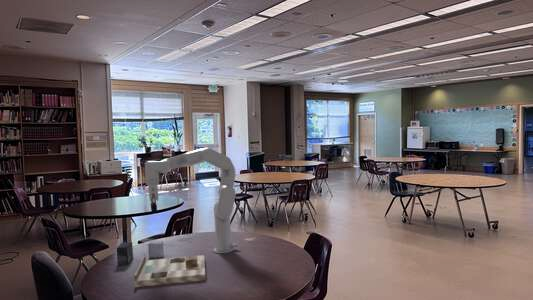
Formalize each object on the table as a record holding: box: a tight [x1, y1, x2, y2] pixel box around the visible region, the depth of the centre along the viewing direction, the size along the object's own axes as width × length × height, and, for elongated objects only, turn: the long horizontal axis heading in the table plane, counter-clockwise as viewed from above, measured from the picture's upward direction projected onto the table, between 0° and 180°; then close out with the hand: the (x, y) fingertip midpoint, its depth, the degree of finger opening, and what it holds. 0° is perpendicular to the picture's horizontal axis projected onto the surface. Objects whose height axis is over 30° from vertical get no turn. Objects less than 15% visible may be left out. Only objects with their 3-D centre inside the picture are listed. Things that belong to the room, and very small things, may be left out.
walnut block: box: [185, 255, 198, 268], centre depth 197 cm, size 6×6×4 cm
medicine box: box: [147, 241, 165, 258], centre depth 222 cm, size 8×4×9 cm, turn 84°
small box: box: [116, 241, 134, 266], centre depth 214 cm, size 11×6×10 cm, turn 5°
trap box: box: [133, 254, 206, 288], centre depth 195 cm, size 34×30×6 cm
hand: (153, 210), depth 217 cm, fingers open, 9 cm apart
